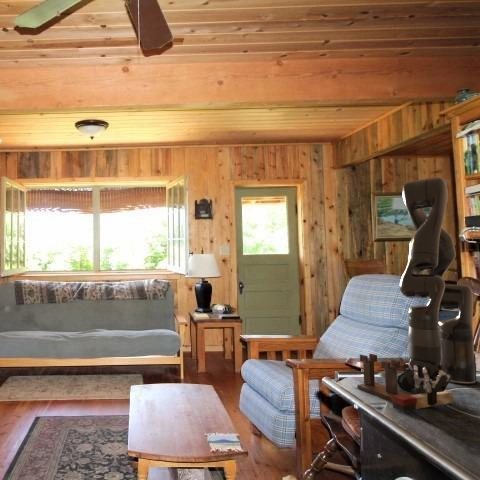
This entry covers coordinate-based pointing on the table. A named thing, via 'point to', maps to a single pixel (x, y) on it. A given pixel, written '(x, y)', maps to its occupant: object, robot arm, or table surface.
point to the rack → (390, 378)
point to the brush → (419, 400)
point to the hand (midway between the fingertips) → (426, 403)
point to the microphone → (402, 382)
